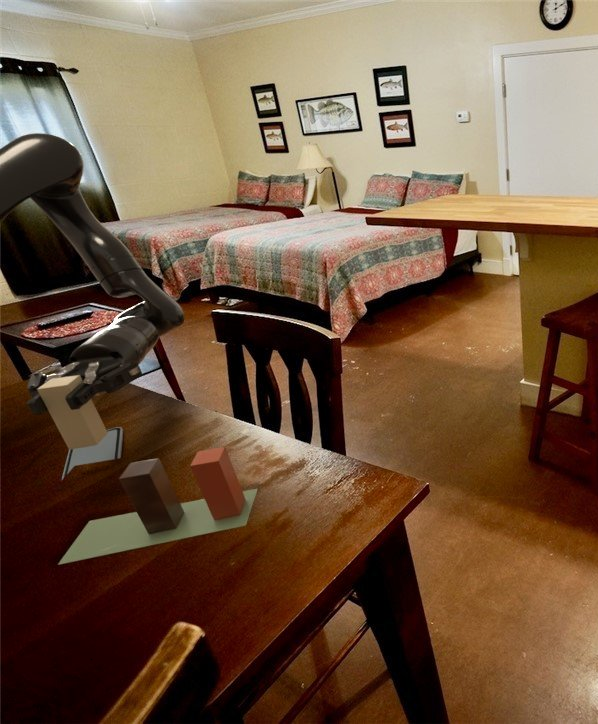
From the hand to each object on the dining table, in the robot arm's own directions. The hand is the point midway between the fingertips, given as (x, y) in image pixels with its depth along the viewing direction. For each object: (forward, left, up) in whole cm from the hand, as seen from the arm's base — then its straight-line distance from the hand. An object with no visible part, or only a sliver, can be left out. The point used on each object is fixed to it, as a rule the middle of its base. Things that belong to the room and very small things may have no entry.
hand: (53, 406), depth 64 cm
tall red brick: (+19, -8, -17) cm, 27 cm away
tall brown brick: (+11, -8, -17) cm, 22 cm away
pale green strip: (+11, -8, -18) cm, 22 cm away
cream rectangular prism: (0, +3, -8) cm, 8 cm away
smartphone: (-8, +15, -18) cm, 24 cm away
